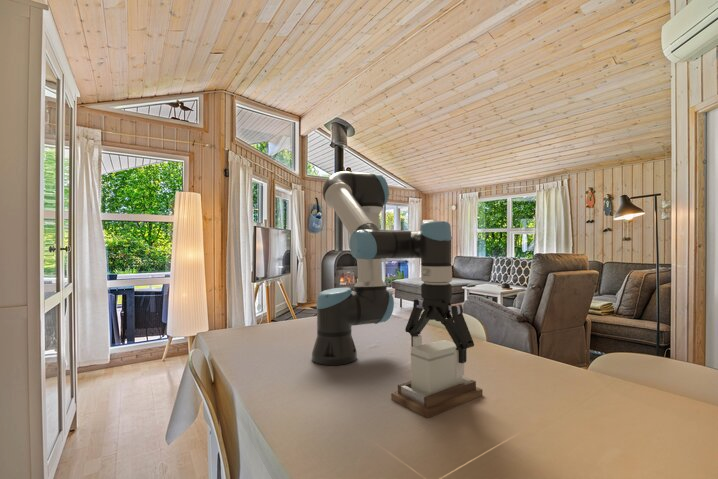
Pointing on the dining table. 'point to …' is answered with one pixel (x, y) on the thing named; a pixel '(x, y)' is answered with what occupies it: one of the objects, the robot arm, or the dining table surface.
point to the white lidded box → (433, 367)
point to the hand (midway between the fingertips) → (437, 368)
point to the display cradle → (436, 397)
